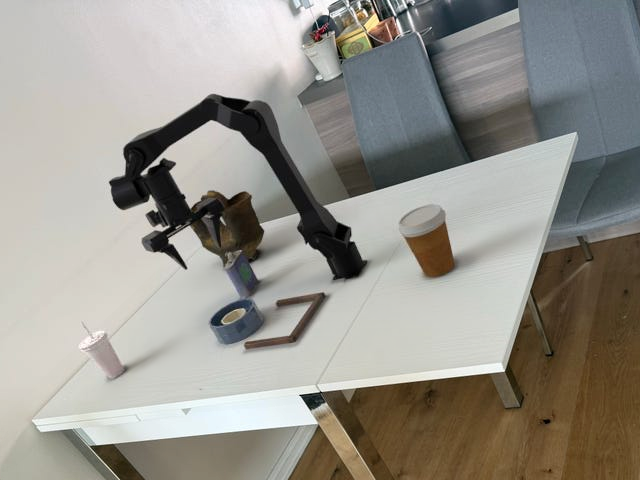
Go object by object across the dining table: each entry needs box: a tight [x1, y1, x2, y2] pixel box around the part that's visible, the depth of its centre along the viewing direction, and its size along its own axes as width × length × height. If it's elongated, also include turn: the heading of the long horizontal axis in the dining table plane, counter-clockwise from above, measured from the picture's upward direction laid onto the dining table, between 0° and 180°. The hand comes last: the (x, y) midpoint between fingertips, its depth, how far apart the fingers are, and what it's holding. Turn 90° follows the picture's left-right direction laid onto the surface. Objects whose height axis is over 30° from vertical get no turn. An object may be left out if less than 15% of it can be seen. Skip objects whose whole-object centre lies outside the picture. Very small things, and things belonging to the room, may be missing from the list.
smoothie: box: [78, 321, 125, 379], centre depth 151 cm, size 6×6×14 cm
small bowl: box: [221, 308, 247, 325], centre depth 146 cm, size 6×6×3 cm
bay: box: [243, 291, 326, 350], centre depth 142 cm, size 12×16×2 cm
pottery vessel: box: [187, 189, 265, 269], centre depth 179 cm, size 25×11×20 cm, turn 56°
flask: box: [224, 250, 260, 299], centre depth 162 cm, size 9×3×11 cm, turn 172°
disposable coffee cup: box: [397, 203, 456, 278], centre depth 133 cm, size 10×10×12 cm
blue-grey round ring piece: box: [208, 297, 264, 345], centre depth 146 cm, size 11×11×5 cm
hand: (203, 258), depth 153 cm, fingers open, 9 cm apart
